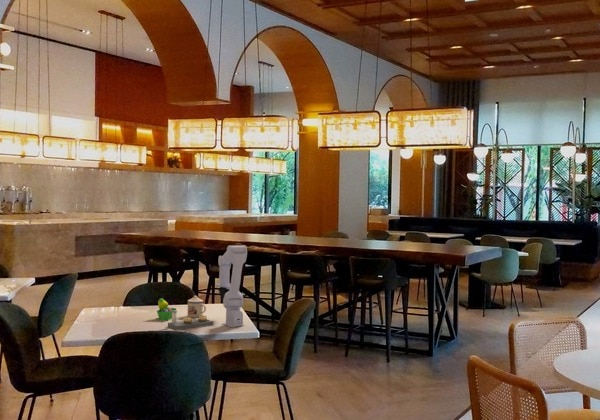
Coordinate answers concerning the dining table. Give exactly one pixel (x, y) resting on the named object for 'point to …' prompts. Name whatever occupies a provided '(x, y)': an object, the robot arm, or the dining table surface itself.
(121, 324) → the dining table surface
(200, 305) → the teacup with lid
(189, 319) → the brass knob
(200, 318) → the brass knob
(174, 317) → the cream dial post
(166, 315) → the fruit basket
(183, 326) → the slate panel
